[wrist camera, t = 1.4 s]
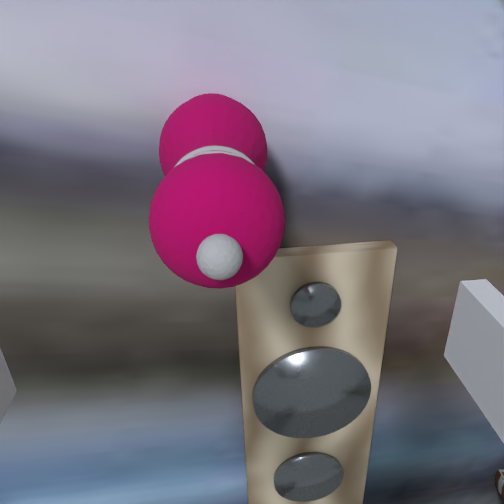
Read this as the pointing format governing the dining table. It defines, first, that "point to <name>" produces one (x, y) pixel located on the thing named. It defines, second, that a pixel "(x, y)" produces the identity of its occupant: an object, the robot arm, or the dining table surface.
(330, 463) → the flange
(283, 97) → the dining table surface
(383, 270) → the tan flat board
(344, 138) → the dining table surface
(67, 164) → the dining table surface
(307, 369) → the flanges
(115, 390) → the dining table surface
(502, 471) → the white and brown wedge
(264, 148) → the pepper mill
